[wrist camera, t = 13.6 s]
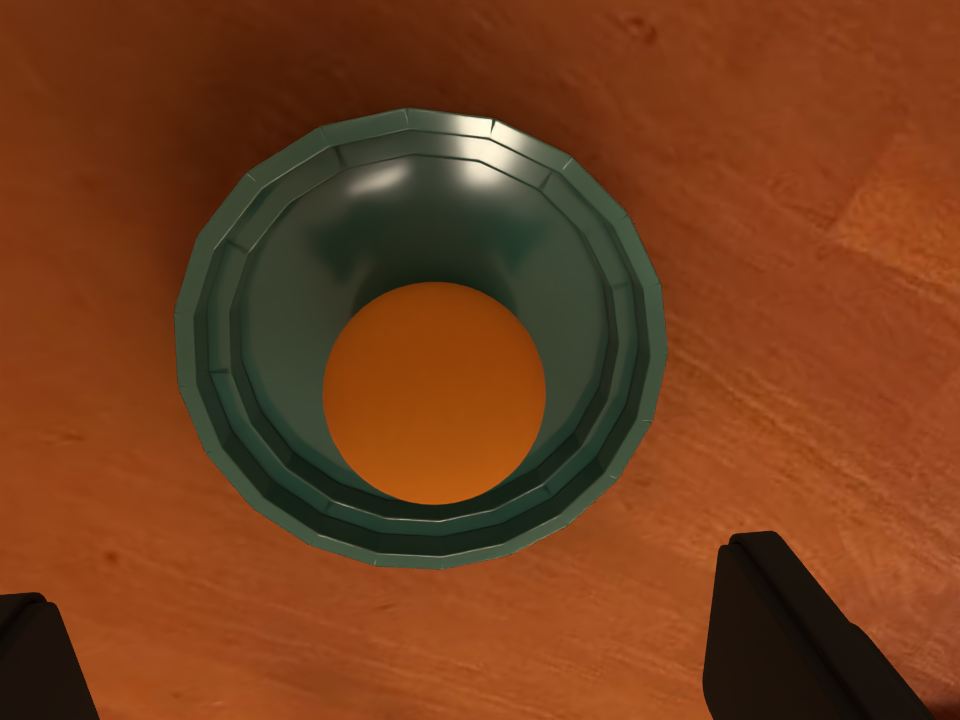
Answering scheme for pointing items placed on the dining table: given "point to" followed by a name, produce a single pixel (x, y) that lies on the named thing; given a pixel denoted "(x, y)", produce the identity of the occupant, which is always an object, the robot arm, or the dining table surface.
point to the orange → (434, 393)
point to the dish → (396, 263)
